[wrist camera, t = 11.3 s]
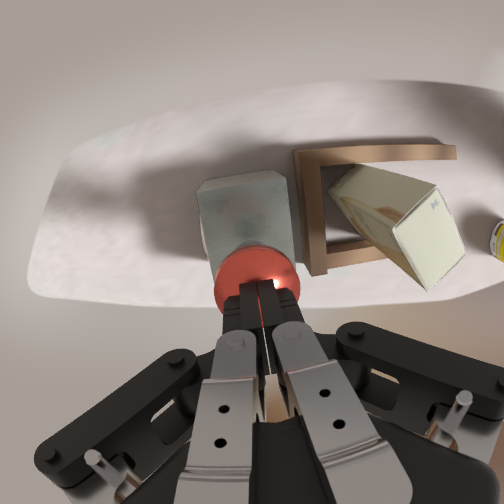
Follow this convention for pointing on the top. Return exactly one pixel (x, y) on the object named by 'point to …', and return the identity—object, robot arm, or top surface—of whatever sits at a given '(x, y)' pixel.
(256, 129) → the top surface
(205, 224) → the cabinet
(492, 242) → the supplement bottle
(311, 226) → the rail
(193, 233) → the top surface
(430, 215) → the skincare box
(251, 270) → the button
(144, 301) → the top surface
